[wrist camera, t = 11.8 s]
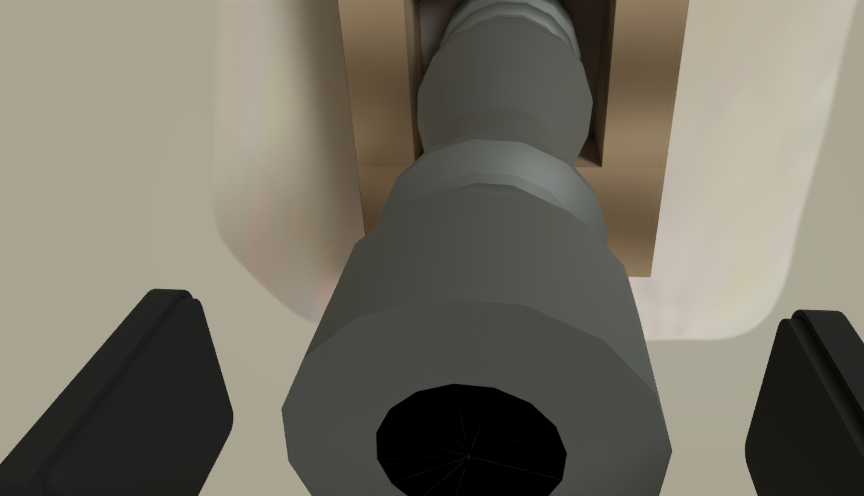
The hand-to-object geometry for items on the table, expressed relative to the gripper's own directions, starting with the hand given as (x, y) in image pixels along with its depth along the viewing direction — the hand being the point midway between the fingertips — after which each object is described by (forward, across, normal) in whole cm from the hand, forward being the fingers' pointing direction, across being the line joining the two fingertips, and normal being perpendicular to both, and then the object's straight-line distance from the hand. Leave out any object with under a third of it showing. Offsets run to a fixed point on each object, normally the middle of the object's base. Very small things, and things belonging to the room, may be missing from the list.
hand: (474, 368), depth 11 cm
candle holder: (+24, 0, +1) cm, 24 cm away
